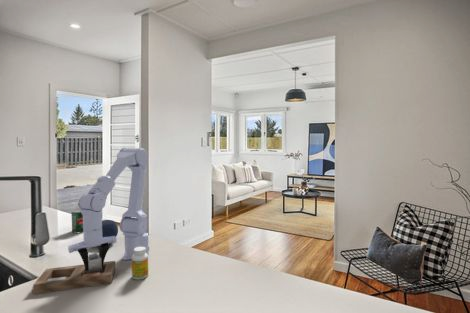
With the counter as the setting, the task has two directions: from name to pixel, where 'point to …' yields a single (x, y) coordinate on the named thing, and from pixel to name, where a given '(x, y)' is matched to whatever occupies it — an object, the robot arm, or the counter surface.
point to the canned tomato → (77, 220)
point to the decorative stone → (109, 228)
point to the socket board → (72, 278)
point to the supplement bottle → (139, 263)
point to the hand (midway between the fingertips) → (94, 267)
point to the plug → (94, 264)
